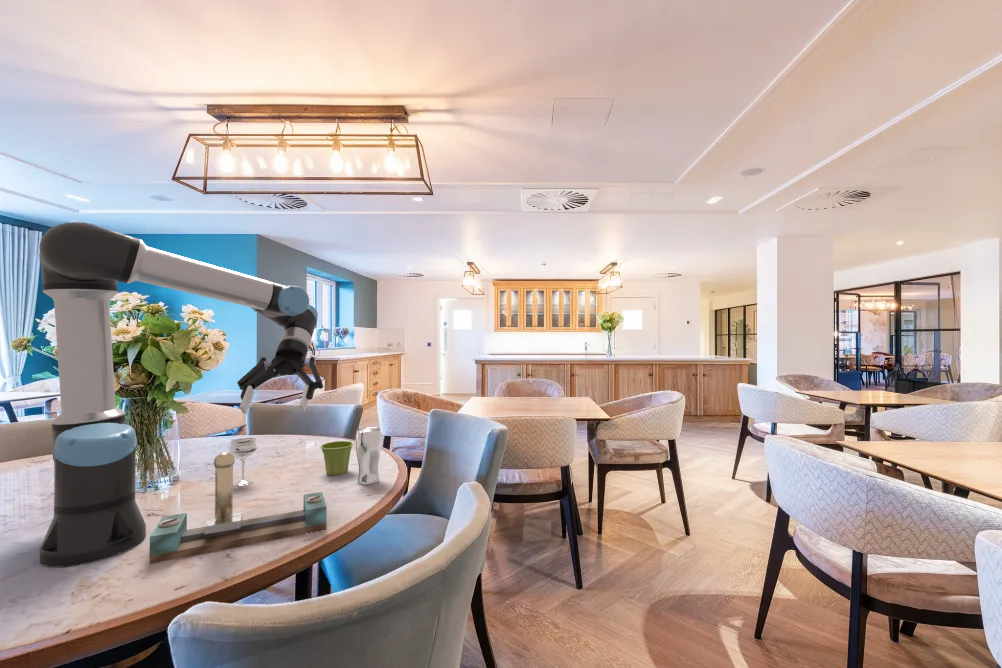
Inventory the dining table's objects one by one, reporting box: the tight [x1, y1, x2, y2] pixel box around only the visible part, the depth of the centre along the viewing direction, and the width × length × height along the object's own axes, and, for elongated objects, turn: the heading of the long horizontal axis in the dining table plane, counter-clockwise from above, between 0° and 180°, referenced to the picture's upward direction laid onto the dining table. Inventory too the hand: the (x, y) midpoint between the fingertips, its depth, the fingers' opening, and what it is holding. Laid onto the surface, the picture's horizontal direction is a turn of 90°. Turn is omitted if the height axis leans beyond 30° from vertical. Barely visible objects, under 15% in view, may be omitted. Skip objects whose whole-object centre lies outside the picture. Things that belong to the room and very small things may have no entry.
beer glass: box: [355, 426, 382, 486], centre depth 123 cm, size 7×7×15 cm
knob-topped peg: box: [204, 451, 243, 534], centre depth 87 cm, size 6×5×15 cm
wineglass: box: [229, 437, 258, 486], centre depth 122 cm, size 7×7×12 cm
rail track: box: [148, 491, 328, 565], centre depth 89 cm, size 30×10×6 cm, turn 118°
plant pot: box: [320, 440, 354, 476], centre depth 131 cm, size 9×9×9 cm
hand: (272, 409), depth 104 cm, fingers open, 13 cm apart
